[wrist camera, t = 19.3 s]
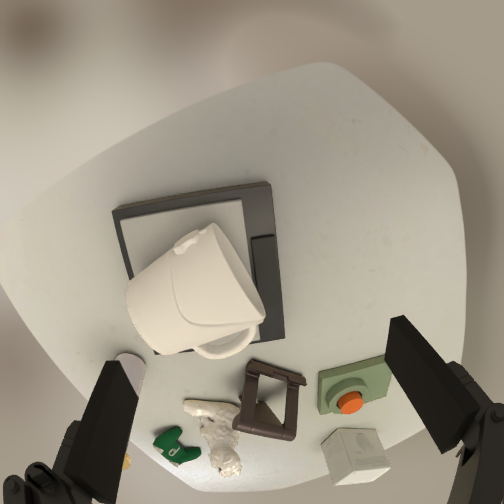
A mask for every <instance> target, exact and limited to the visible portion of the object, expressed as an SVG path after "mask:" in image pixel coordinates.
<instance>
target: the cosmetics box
mask: <svg viewBox="0 0 504 504" xmlns="http://www.w3.org/2000/svg"><path fill="white" fill-rule="evenodd" d="M321 446H322V450H323V453H324V456H325V459H326V462H327V466H328V469H329V472H330V476H331V479H332V482H333V485H346V484H355V483H364V482H372V481H374V480H375V479H377V478H378V477H379V476H381V475H382V474H384V473H385V472H386V471H388V470H389V469H390V468H391V467H392V465H391V463H390V461H389V459H388V457H387V455H386V453H385V450H384V448H383V446H382V444H381V442H380V440H379V437H378V435H377V433H376V430H375V429H344V428H338V429H337V430H336V431H335V432H334V433H333V434H332V435H331V436H330V437H329V438H328V439H327V440H325V441H324V442H323V443H322V444H321Z"/></svg>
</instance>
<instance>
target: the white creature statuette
mask: <svg viewBox="0 0 504 504" xmlns="http://www.w3.org/2000/svg"><path fill="white" fill-rule="evenodd" d="M184 412H185V413H187V414H190V415H191V416H193V417H194V416H196V417H199V416H200V420H201V423H202V424H203V426H204V427H203V428H201V429H200V435H201V436H202V437H204V438H206V440H208V444H209V448H210V450H211V453H209V454H208V457H209V458H210V462H211V463H212V465H211V466H212V467H213V468H216V469H217V470H218V471H219V474H220V475H221V476H223V477H226V476H231V475H232V474H236V475H240V472H241V467H242V466H241V464H240V458H239V456H238V454H237V453H236V452H235V450H233V449H234V448H235V446H236V444H238V442H237V440H238V438H239V435H240V434H241V431H236V430H233V429H232V422H233V419H234V417H235V416H236V415H237V414H239V412H240V408H237V407H236V406H235V405H232V404H230V403H224V402H221V403H220V402H210V401H200V400H191V399H188V400H184Z"/></svg>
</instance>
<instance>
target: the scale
mask: <svg viewBox="0 0 504 504" xmlns="http://www.w3.org/2000/svg"><path fill="white" fill-rule="evenodd" d="M112 215H113V220H114V224H115V228H116V232H117V236H118V240H119V244H120V248H121V252H122V255H123V259H124V263H125V266H126V270H127V273H128V277H129V280H131V279H132V278H134V277H135V276H136V275H138V274H139V273H140V272H141V271H143V270H144V269H145V268H147V267H148V266H149V265H150V264H152V263H153V262H154V261H156V260H157V259H158V258H160V257H161V256H162V255H163V254H165V253H166V252H167V251H169V250H170V249H172V248H173V247H174V246H175V245H174V244H175V243H176V242H177V241H178V240H180V239H181V238H182V237H184V236H185V235H187V234H189V233H190V232H192V231H194V230H199V231H201V230H203V229H205V228H206V227H207V226H209V225H210V224H211V223H215V224H216V225H217V226H218V227H219V228H220V229H221V230H222V231H223V233H224V234H225V236H226V237H227V238H228V240H229V241H230V243H231V245H232V246H233V248H234V249H235V251H236V253H237V254H238V256H239V258H240V259H241V261H242V263H243V265H244V266H245V268H246V270H247V272H248V274H249V276H250V278H251V280H252V282H253V284H254V286H255V288H256V290H257V292H258V294H259V296H260V299H261V301H262V304H263V306H264V309H265V313H266V317H265V318H264V321H263V322H262V323H260V324H258V325H256V334H255V336H254V338H253V340H252V341H251V342H250V343H249V344H254V343H260V342H266V341H272V340H278V339H284V338H285V329H284V316H283V304H282V292H281V281H280V269H279V259H278V248H277V238H276V227H275V218H274V208H273V198H272V189H271V184H269V183H268V182H259V183H251V184H244V185H236V186H229V187H222V188H216V189H209V190H203V191H197V192H191V193H185V194H179V195H173V196H168V197H162V198H157V199H151V200H146V201H141V202H136V203H131V204H126V205H121V206H119V207H117V208H116V209H114V210H113V211H112ZM244 330H245V329H244ZM244 330H242V331H239V332H236V333H233V334H230V335H228V336H225V337H222V338H219V339H216V340H213V341H211V342H208V343H207V344H209V345H221V344H225V343H227V342H230V341H232V340H233V339H235V338H236V337H238V336H239V335H240V334H241V333H242V332H243V331H244ZM192 351H195V350H194V349H192V348H190V349H187V350H184V351H181V352H178V353H182V352H192ZM154 353H155V355H159V354H160V353H158V352H156V351H155V350H154Z"/></svg>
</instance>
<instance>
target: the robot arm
mask: <svg viewBox="0 0 504 504" xmlns="http://www.w3.org/2000/svg"><path fill="white" fill-rule="evenodd" d="M384 361H385V362H386V364H387V365H388V367H389V369H390V370H391V372H392V373H393V375H394V376H395V378H396V379H397V381H398V383H399V384H400V386H401V387H402V389H403V390H404V392H405V394H406V395H407V397H408V398H409V400H410V402H411V403H412V405H413V407H414V408H415V410H416V411H417V413H418V415H419V416H420V418H421V420H422V421H423V423H424V425H425V426H426V428H427V430H428V431H429V433H430V435H431V437H432V438H433V440H434V442H435V443H436V445H437V447H438V449H439V450H440V452H441V454H443V453H445V452H447V451H449V450H451V449H453V448H455V447H456V446H457V444H458V443H459V441H460V440H462V441H463V443H464V445H463V446H462V447H461V449H460V450H459V451H458V453H457V455H456V457H458V456H459V455H460V454H461V455H460V460H459V464H458V468H457V472H456V476H455V479H454V484H453V487H452V490H451V493H450V497H449V500H448V503H447V504H501V502H502V501H503V502H502V504H504V404H502V403H493V402H492V401H491V400H490V398H489V397H488V396H487V395H486V393H485V392H484V391H483V390H482V389H481V387H480V386H479V385H478V384H477V383H476V382H475V381H474V379H473V378H472V377H471V375H469V373H468V372H467V371H466V370H465V368H464V367H463V366H461V365H460V364H458V363H456V362H455V361H452V362H449V363H447V364H446V363H445V362H444V360H443V359H442V358H441V357H440V356H439V354H438V353H437V352H436V351H435V350H434V349H433V347H432V346H431V345H430V344H429V343H428V342H427V340H426V339H425V338H424V337H423V336H422V335H421V334H420V333H419V331H418V330H417V329H416V328H415V327H414V326H413V325H412V324H411V322H410V321H409V320H408V319H407V318H406V317H405V316H404V315H401V316H398V317H394V318H391V320H390V327H389V334H388V340H387V346H386V352H385V358H384ZM138 400H139V397H138V396H137V394H136V392H135V390H134V388H133V386H132V384H131V383H130V381H129V379H128V377H127V375H126V373H125V371H124V369H123V367H122V365H121V363H120V361H119V360H113V361H106V362H105V364H104V367H103V369H102V371H101V373H100V376H99V378H98V380H97V383H96V385H95V387H94V390H93V392H92V394H91V397H90V399H89V402H88V404H87V407H86V409H85V412H84V414H83V417H82V420H81V421H76V420H74V421H73V422H72V423H71V425H70V426H69V427H68V428H67V431H66V433H65V436H64V439H63V441H62V443H61V445H62V446H60V449H59V451H58V454H57V457H56V460H55V463H54V466H53V468H52V470H51V469H50V468H49V467H48V466H47V465H45V464H44V463H42V462H35V463H32V464H31V465H29V466H28V468H27V469H26V471H25V480H26V481H24V480H23V479H22V478H20V477H19V476H17V475H11V476H8V477H7V478H6V479H5V481H4V484H3V500H4V504H92V503H91V502H92V498H94V499H96V500H97V501H98V502H100V503H104V504H115V503H116V498H117V492H118V487H119V481H120V477H121V472H122V467H123V463H124V458H125V453H126V449H127V444H128V440H129V436H130V432H131V427H132V423H133V419H134V415H135V411H136V407H137V403H138Z"/></svg>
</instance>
